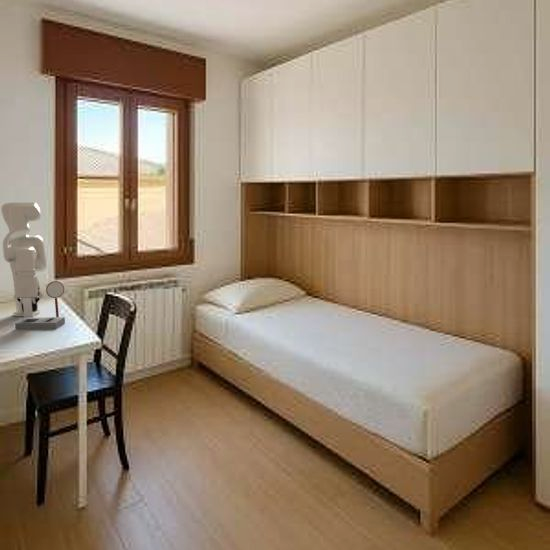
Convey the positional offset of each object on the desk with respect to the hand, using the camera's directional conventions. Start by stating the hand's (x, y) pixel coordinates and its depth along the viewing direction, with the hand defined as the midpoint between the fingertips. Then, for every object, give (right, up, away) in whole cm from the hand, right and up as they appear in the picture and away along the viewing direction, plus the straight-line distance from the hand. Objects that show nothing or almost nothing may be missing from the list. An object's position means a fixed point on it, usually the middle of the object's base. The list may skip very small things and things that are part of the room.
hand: (30, 311), depth 234 cm
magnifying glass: (+7, -6, +15) cm, 17 cm away
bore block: (+4, -8, +2) cm, 9 cm away
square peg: (0, -3, 0) cm, 3 cm away
